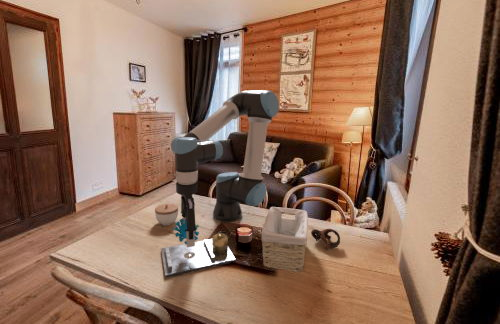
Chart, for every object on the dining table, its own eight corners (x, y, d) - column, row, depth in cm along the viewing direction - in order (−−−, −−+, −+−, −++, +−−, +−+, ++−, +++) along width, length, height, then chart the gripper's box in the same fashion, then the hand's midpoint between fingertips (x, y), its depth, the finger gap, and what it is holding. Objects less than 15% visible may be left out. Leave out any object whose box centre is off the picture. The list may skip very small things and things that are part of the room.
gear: (183, 246, 85) (171, 220, 88) (174, 253, 88) (163, 228, 91) (206, 237, 94) (194, 214, 97) (197, 244, 97) (186, 221, 100)
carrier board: (222, 239, 108) (222, 223, 106) (235, 261, 93) (235, 244, 91) (161, 251, 98) (160, 234, 97) (165, 278, 83) (164, 258, 82)
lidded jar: (183, 221, 124) (182, 203, 122) (165, 230, 115) (164, 211, 113) (168, 215, 129) (167, 198, 127) (151, 223, 120) (149, 205, 118)
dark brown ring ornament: (336, 240, 110) (343, 230, 105) (333, 259, 104) (340, 250, 98) (310, 230, 113) (315, 220, 107) (305, 248, 106) (311, 238, 100)
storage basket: (304, 276, 86) (307, 238, 83) (258, 269, 89) (260, 231, 86) (305, 241, 109) (308, 209, 105) (268, 235, 112) (270, 205, 109)
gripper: (172, 174, 96) (174, 227, 101) (180, 192, 76) (182, 257, 81) (191, 173, 99) (193, 224, 104) (204, 190, 79) (205, 253, 84)
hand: (188, 239), depth 93 cm, fingers closed on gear, 9 cm apart
